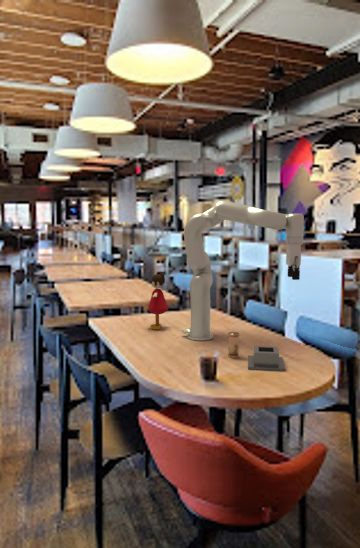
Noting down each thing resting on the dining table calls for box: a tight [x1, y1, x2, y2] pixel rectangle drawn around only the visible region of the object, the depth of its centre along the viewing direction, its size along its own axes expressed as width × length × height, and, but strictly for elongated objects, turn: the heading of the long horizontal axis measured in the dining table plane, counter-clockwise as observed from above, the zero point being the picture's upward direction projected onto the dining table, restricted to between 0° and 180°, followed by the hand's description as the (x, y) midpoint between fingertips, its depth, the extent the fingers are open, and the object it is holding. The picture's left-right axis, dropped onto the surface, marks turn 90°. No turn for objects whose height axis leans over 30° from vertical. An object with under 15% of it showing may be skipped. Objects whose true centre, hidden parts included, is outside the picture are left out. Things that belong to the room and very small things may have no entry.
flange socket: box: [247, 345, 286, 372], centre depth 167 cm, size 14×14×6 cm
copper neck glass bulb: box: [227, 331, 240, 359], centre depth 177 cm, size 5×5×10 cm
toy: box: [147, 272, 169, 330], centre depth 222 cm, size 27×11×30 cm, turn 178°
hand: (293, 278), depth 194 cm, fingers open, 9 cm apart
